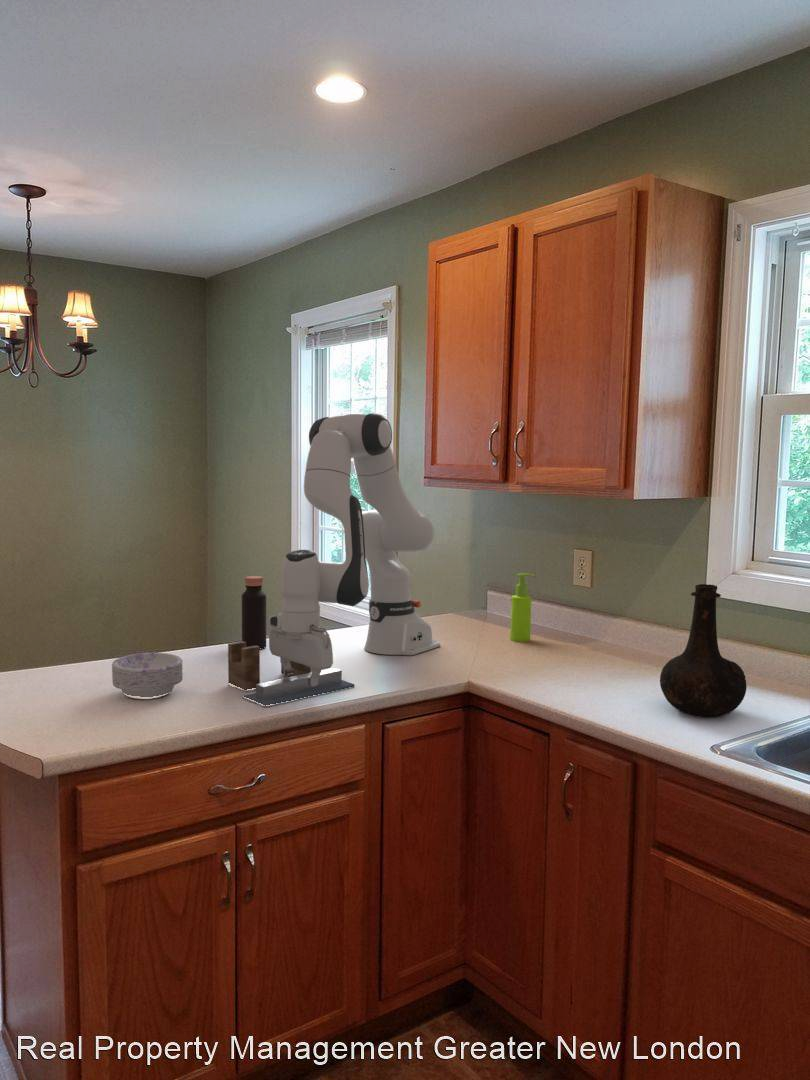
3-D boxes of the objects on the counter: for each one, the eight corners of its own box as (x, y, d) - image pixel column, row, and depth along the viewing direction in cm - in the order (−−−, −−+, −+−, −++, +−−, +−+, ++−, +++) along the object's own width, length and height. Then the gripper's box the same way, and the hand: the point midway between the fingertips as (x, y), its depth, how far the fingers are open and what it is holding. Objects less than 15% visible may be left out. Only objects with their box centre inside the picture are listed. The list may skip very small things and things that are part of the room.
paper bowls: (155, 707, 179) (155, 671, 178) (97, 699, 184) (97, 664, 183) (196, 689, 193) (195, 655, 192) (141, 682, 198) (140, 649, 197)
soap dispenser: (534, 642, 247) (537, 575, 245) (511, 641, 247) (513, 574, 245) (532, 637, 253) (534, 572, 250) (509, 637, 253) (511, 572, 251)
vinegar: (261, 651, 230) (260, 579, 228) (238, 649, 232) (237, 578, 230) (269, 645, 237) (269, 576, 235) (247, 644, 238) (247, 574, 236)
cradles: (294, 671, 209) (294, 632, 208) (311, 677, 204) (311, 637, 203) (228, 685, 197) (228, 643, 195) (245, 691, 191) (244, 649, 190)
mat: (331, 678, 203) (331, 676, 203) (354, 686, 197) (354, 684, 197) (242, 698, 186) (242, 695, 186) (265, 707, 180) (265, 704, 180)
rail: (333, 680, 200) (333, 667, 200) (341, 682, 198) (341, 670, 198) (255, 697, 185) (255, 684, 185) (263, 700, 183) (263, 687, 183)
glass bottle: (727, 731, 169) (735, 595, 166) (644, 712, 181) (650, 585, 178) (756, 711, 183) (764, 585, 180) (677, 695, 194) (683, 576, 191)
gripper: (339, 627, 185) (339, 688, 186) (286, 613, 199) (286, 669, 201) (317, 631, 180) (316, 693, 182) (264, 616, 195) (264, 674, 197)
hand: (300, 680), depth 191 cm, fingers open, 8 cm apart
